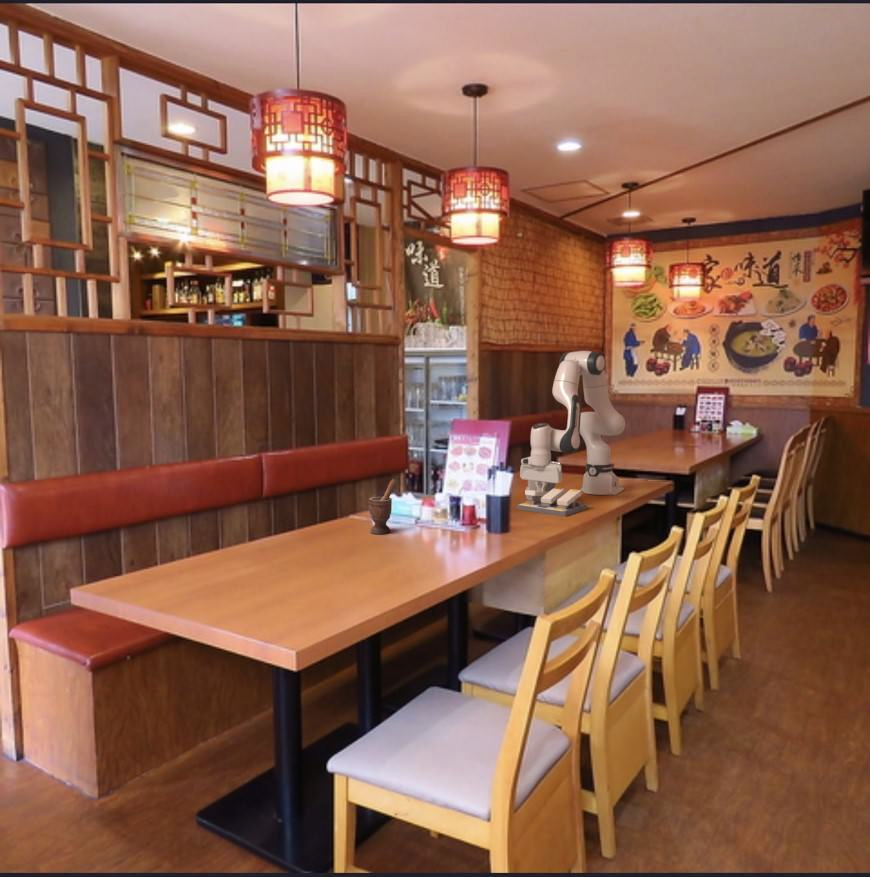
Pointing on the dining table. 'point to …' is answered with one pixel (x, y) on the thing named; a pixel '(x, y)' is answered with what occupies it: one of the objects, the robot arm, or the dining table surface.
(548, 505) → the switch unit
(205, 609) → the dining table surface
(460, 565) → the dining table surface
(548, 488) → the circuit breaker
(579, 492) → the block
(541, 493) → the block
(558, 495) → the rocker
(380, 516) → the mortar and pestle
